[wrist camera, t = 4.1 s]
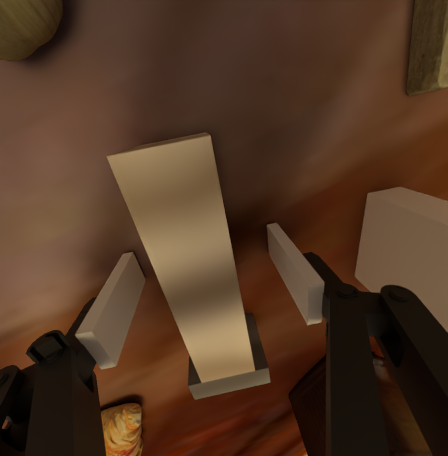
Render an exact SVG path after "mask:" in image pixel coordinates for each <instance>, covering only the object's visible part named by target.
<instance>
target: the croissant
mask: <svg viewBox="0 0 448 456" xmlns="http://www.w3.org/2000/svg"><path fill="white" fill-rule="evenodd" d="M141 412H142V411H141V406H139V404H137V403H127V404H122V405H119V406H115V407H111V408H108V409H106V410H103V411H101V417H102V425H103V432H104V440H105V448H106V455H107V456H141V451H142V447H143V441H142V437H140V436H141V433H142V424H141V416H142V413H141Z"/></svg>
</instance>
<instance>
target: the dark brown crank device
mask: <svg viewBox="0 0 448 456" xmlns="http://www.w3.org/2000/svg"><path fill="white" fill-rule="evenodd" d="M372 357H373V362H374V368H375V374H376V379H377V385H378V391H379V396H380V402H381V408H382V413H383V419H384V425H385V430H386V436H387V442H388V447H389V453H390V456H433V455H432V453H431V451H430V449H429V447H428V445H427V443H426V441H425V439H424V437H423V435H422V433H421V431H420V429H419V427H418V425H417V422H416V420H415V418H414V416H413V414H412V412H411V410H410V408H409V406H408V404H407V402H406V400H405V398H404V396H403V394H402V392H401V390H400V388H399V386H398V384H397V382H396V380H395V378H394V376H393V374H392V372H391V370H390V368H389V366H388V364H387V362H386V360H385V359H382V358H379V357H377V356H374V355H372ZM289 399H290V401H291V404H292V407H293V410H294V414H295V417H296V420H297V423H298V426H299V429H300V432H301V436H302V439H303V442H304V445H305V448H306V451H307V454H308V456H326V357H325V358H324V359H322V360H321V361H320V362H319V363H318V364H317V365H316V366H315V367H314V368H313V369H312V370H311V371H309V372H308V373H307V374H306V375H305V376H304V377H303V378H302V379H301V380H300V381H299V382H298V383H297V385H296V386H295V387H294V388H293V390H292V391H291V392H290V394H289Z"/></svg>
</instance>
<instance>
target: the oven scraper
mask: <svg viewBox="0 0 448 456" xmlns="http://www.w3.org/2000/svg"><path fill="white" fill-rule="evenodd" d="M107 159H108V161H109V164H110V166H111V169H112V171H113V173H114V176H115V178H116V180H117V183H118V185H119V188H120V190H121V192H122V195H123V197H124V199H125V202H126V204H127V207H128V209H129V211H130V214H131V216H132V219H133V221H134V223H135V226H136V228H137V230H138V233H139V235H140V238H141V240H142V242H143V245H144V247H145V249H146V252H147V254H148V257H149V259H150V261H151V264H152V266H153V268H154V271H155V273H156V276H157V278H158V280H159V283H160V285H161V288H162V290H163V292H164V295H165V297H166V299H167V302H168V304H169V307H170V309H171V311H172V314H173V316H174V318H175V321H176V323H177V326H178V328H179V330H180V333H181V335H182V337H183V340H184V342H185V345H186V347H187V349H188V352H189V377H188V387H189V389H190V391H191V393H192V395H193V397H194V399H195V400H196V399H200V398H204V397H209V396H213V395H217V394H222V393H226V392H231V391H235V390H239V389H244V388H248V387H253V386H257V385H261V384H266V383H270V375H269V368H268V365H267V361H266V358H265V354H264V351H263V347H262V344H261V340H260V337H259V334H258V330H257V327H256V323H255V320H254V316H253V313H251V314H247V315H244V310H243V304H242V299H241V294H240V289H239V283H238V278H237V273H236V268H235V262H234V257H233V252H232V246H231V241H230V236H229V231H228V225H227V220H226V215H225V210H224V204H223V199H222V194H221V189H220V183H219V178H218V173H217V168H216V162H215V157H214V152H213V147H212V141H211V136H210V135H209V134H208V133H206V132H204V133H199V134H194V135H189V136H184V137H180V138H175V139H170V140H165V141H160V142H155V143H150V144H145V145H140V146H137V147H134V148H131V149H128V150H125V151H122V152H119V153H116V154H113V155H110V156H107Z"/></svg>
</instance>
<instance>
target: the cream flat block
mask: <svg viewBox="0 0 448 456" xmlns="http://www.w3.org/2000/svg"><path fill="white" fill-rule="evenodd" d="M355 277H356V278H357V279H358V280H359V281H360V282H361V283H362V284H363V285H364V286H365V287H366V288H367V289H368V290H369V291H370V292H376V293H380V290H381V288H382V287H383V286H385V285H398V286H402V287H405V288H407V289H409V290H411V291H412V292H413V293H414V294H416V295H417V297H418V298H419V299H420V300H421V301H422V303H423V304H424V305H425V306H426V307H427V309H428V310H429V311H430V312H431V313H432V315H433V316H434V317H435V318H436V319H437V320H438V322H439V323H440V324H441V325H442V326H443V328H444V329H445V330H446V331H447V332H448V201H446V200H442V199H439V198H436V197H433V196H429V195H426V194H423V193H419V192H416V191H413V190H409V189H406V188H403V187H396V188H391V189H386V190H381V191H376V192H371V193H368V194H367V201H366V207H365V213H364V220H363V226H362V232H361V239H360V245H359V252H358V258H357V264H356V271H355Z"/></svg>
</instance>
